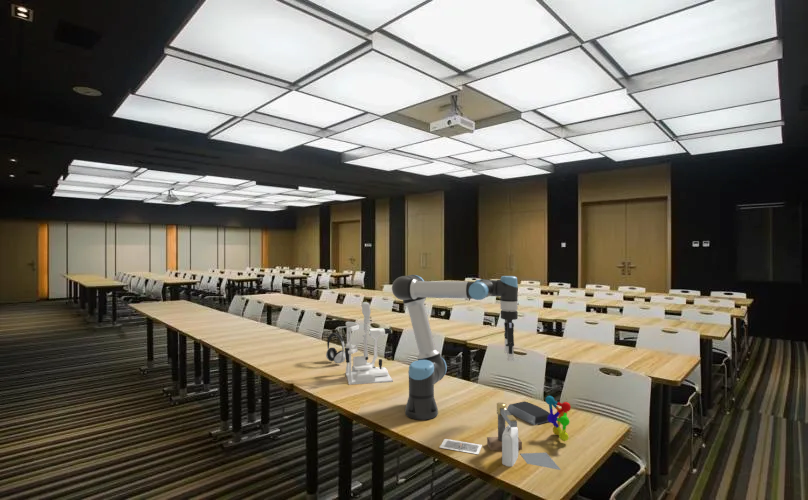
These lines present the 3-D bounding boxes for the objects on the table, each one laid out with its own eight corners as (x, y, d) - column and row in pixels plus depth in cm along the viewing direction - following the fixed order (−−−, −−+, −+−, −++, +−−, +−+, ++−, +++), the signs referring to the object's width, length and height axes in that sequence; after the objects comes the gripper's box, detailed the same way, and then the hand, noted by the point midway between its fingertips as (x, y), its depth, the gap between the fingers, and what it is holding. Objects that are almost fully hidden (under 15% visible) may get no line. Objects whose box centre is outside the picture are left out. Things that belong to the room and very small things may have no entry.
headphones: (323, 360, 284) (322, 331, 284) (333, 358, 290) (333, 330, 290) (338, 366, 270) (338, 335, 270) (349, 363, 276) (349, 334, 276)
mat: (534, 475, 138) (534, 474, 138) (520, 454, 152) (520, 453, 152) (563, 473, 139) (563, 472, 139) (546, 453, 153) (546, 452, 153)
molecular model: (541, 429, 172) (540, 394, 171) (562, 427, 173) (562, 393, 172) (557, 449, 157) (557, 411, 156) (581, 447, 158) (581, 409, 157)
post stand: (490, 451, 155) (490, 416, 155) (487, 444, 160) (487, 411, 160) (521, 449, 155) (521, 415, 156) (517, 443, 160) (517, 410, 160)
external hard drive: (533, 426, 177) (533, 417, 177) (505, 411, 194) (505, 403, 194) (554, 421, 182) (554, 412, 182) (525, 407, 199) (525, 399, 199)
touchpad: (444, 441, 164) (444, 435, 164) (482, 447, 158) (482, 442, 158) (439, 450, 156) (439, 444, 156) (478, 457, 151) (478, 451, 151)
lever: (495, 411, 159) (495, 402, 159) (504, 411, 159) (504, 402, 159) (508, 429, 143) (508, 419, 143) (519, 429, 144) (518, 418, 144)
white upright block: (508, 453, 153) (507, 420, 153) (519, 455, 151) (519, 422, 151) (500, 466, 144) (500, 430, 144) (512, 469, 142) (512, 433, 142)
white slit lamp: (394, 381, 238) (393, 304, 238) (347, 385, 232) (347, 305, 232) (386, 369, 261) (386, 299, 261) (344, 372, 255) (344, 300, 256)
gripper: (520, 314, 173) (520, 364, 173) (514, 306, 198) (514, 350, 198) (502, 314, 175) (502, 363, 175) (498, 306, 199) (498, 349, 199)
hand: (508, 356), depth 186 cm, fingers open, 13 cm apart
